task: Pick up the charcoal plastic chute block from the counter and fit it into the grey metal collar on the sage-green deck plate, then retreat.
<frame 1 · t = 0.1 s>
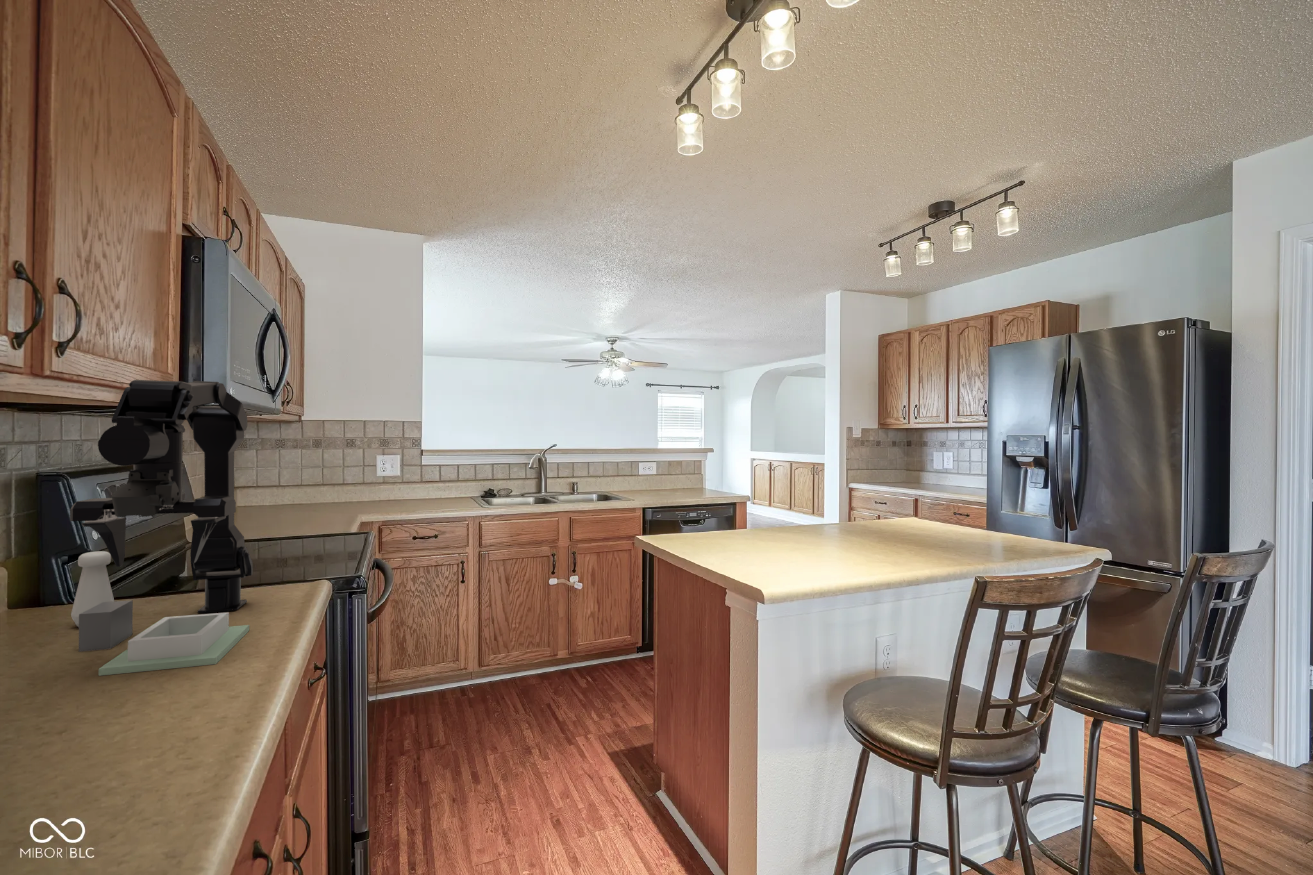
hand: (157, 564, 90), 15 cm above the counter, fingers open, 9 cm apart
deck plate: (181, 650, 93), on the counter
salt shaker: (93, 625, 105), on the counter
chute block: (106, 643, 97), on the counter
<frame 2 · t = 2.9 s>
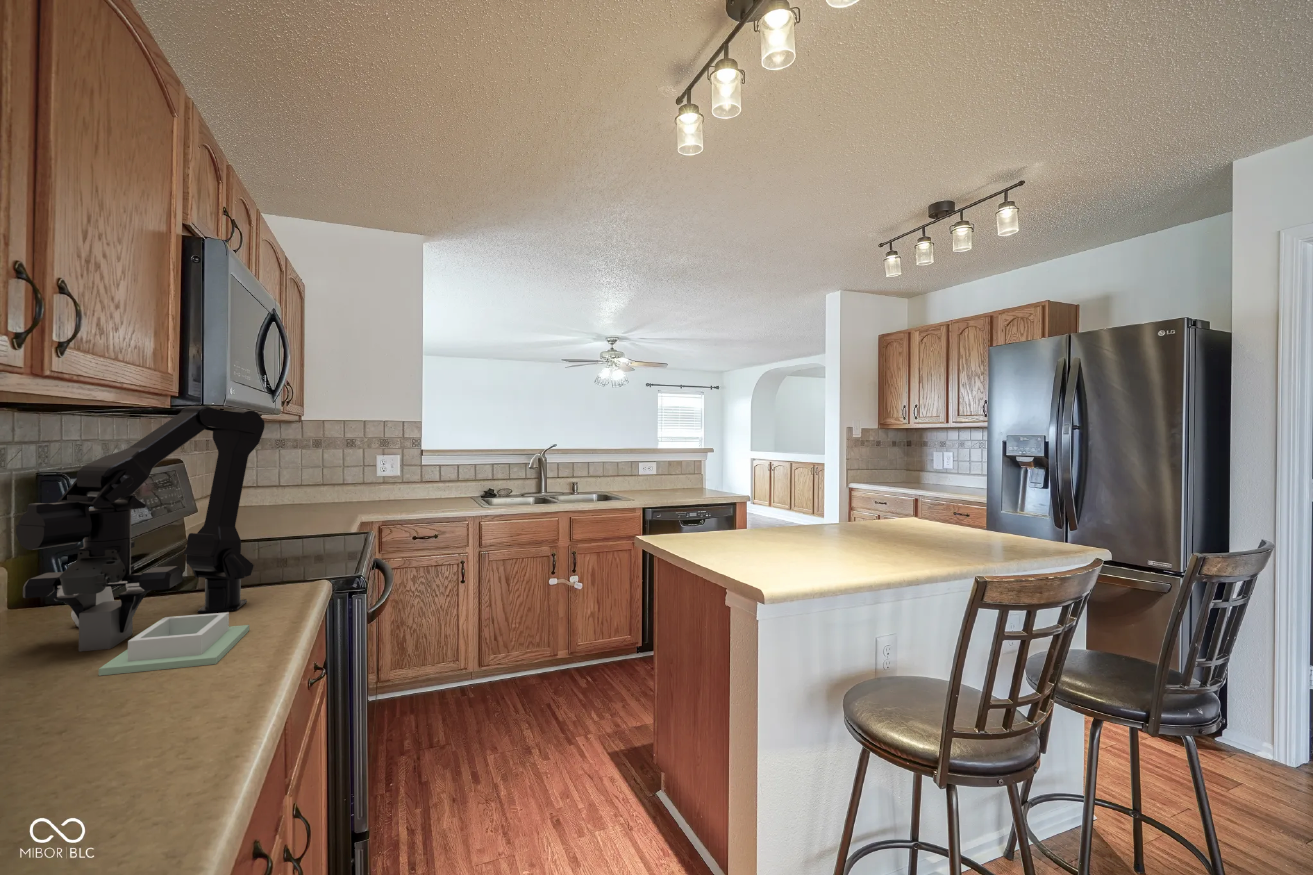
hand: (106, 633, 97), 2 cm above the counter, fingers closed on chute block, 4 cm apart
chute block: (106, 642, 97), on the counter, touching gripper
everything else where it was.
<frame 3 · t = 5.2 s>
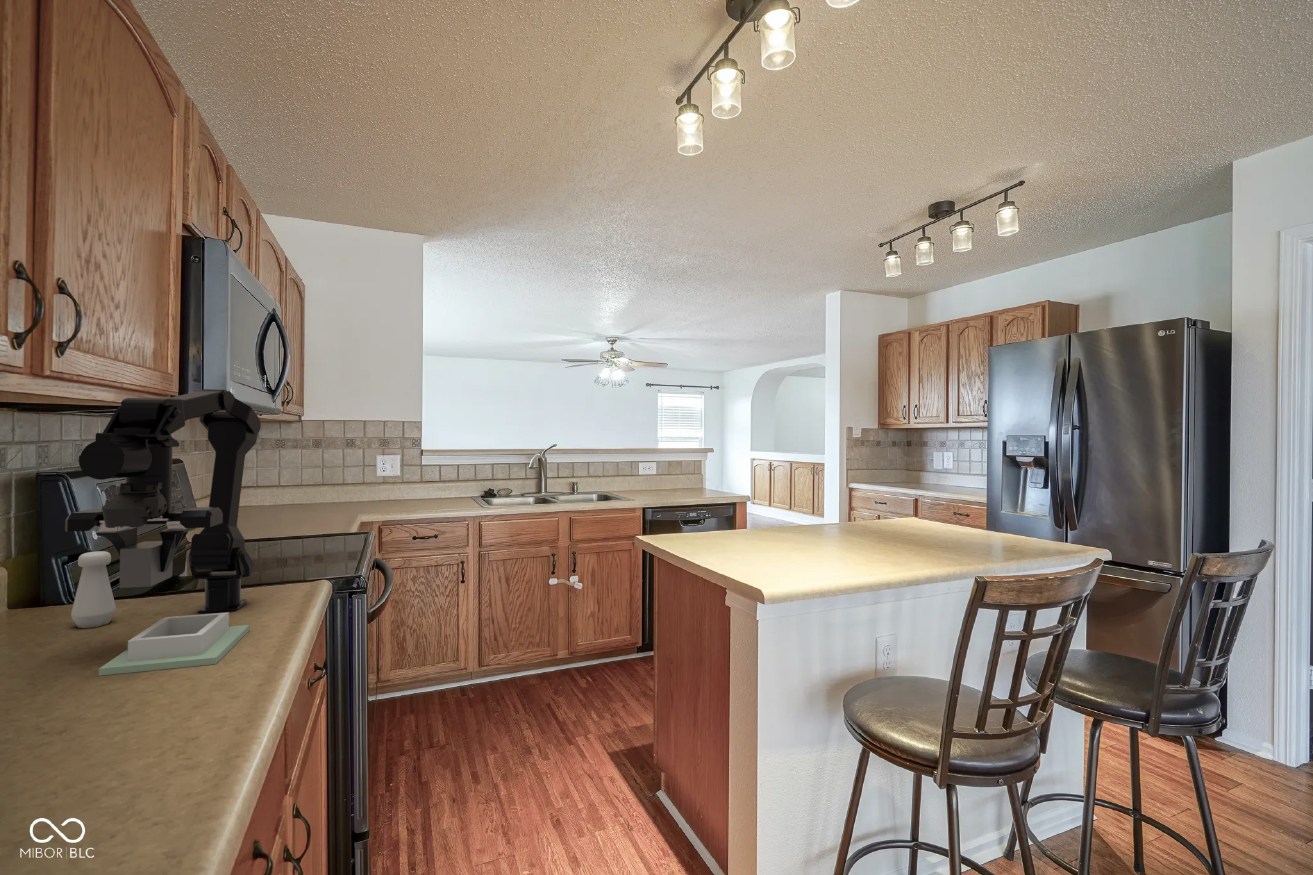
hand: (147, 572, 95), 12 cm above the counter, fingers closed on chute block, 4 cm apart
chute block: (147, 581, 95), point 11 cm above the counter, touching gripper
everything else where it was.
when the fingers open (5 cm above the counter, at t = 7.6 s): chute block drops 2 cm, resting on deck plate.
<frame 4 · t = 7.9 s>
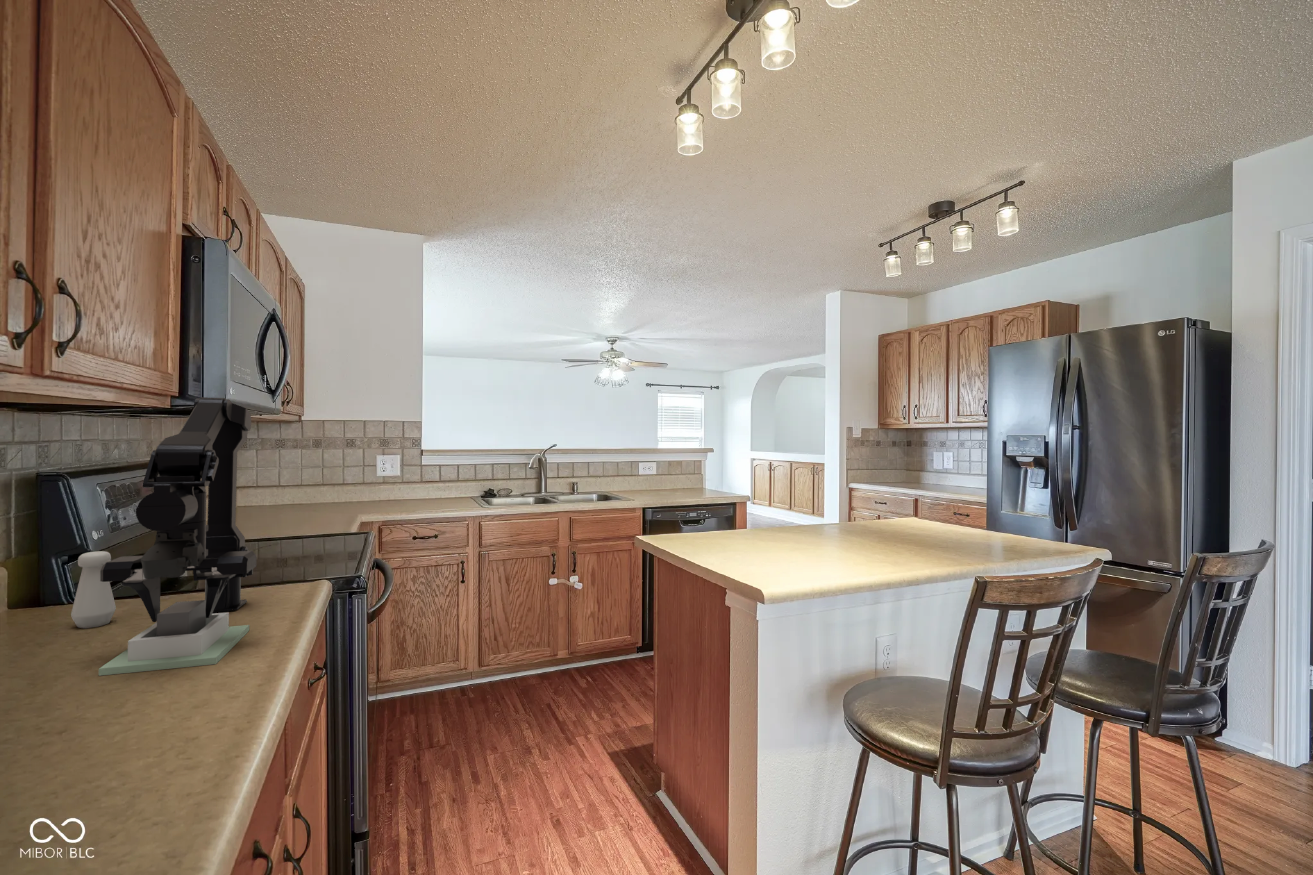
hand: (182, 619, 93), 5 cm above the counter, fingers open, 7 cm apart
chute block: (182, 644, 93), point 1 cm above the counter, touching deck plate
everything else where it was.
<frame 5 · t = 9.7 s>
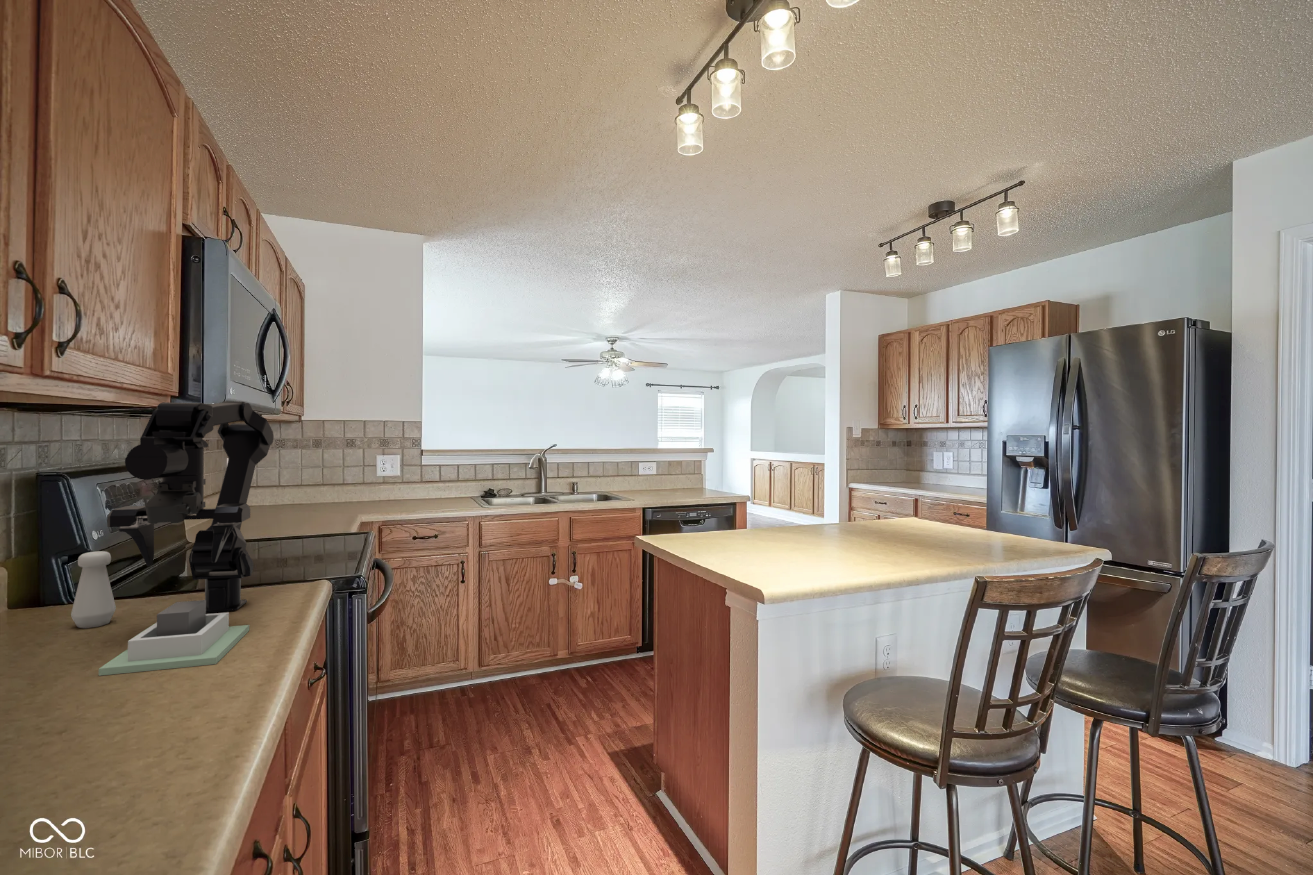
hand: (182, 563, 102), 12 cm above the counter, fingers open, 9 cm apart
nothing on the counter moved.
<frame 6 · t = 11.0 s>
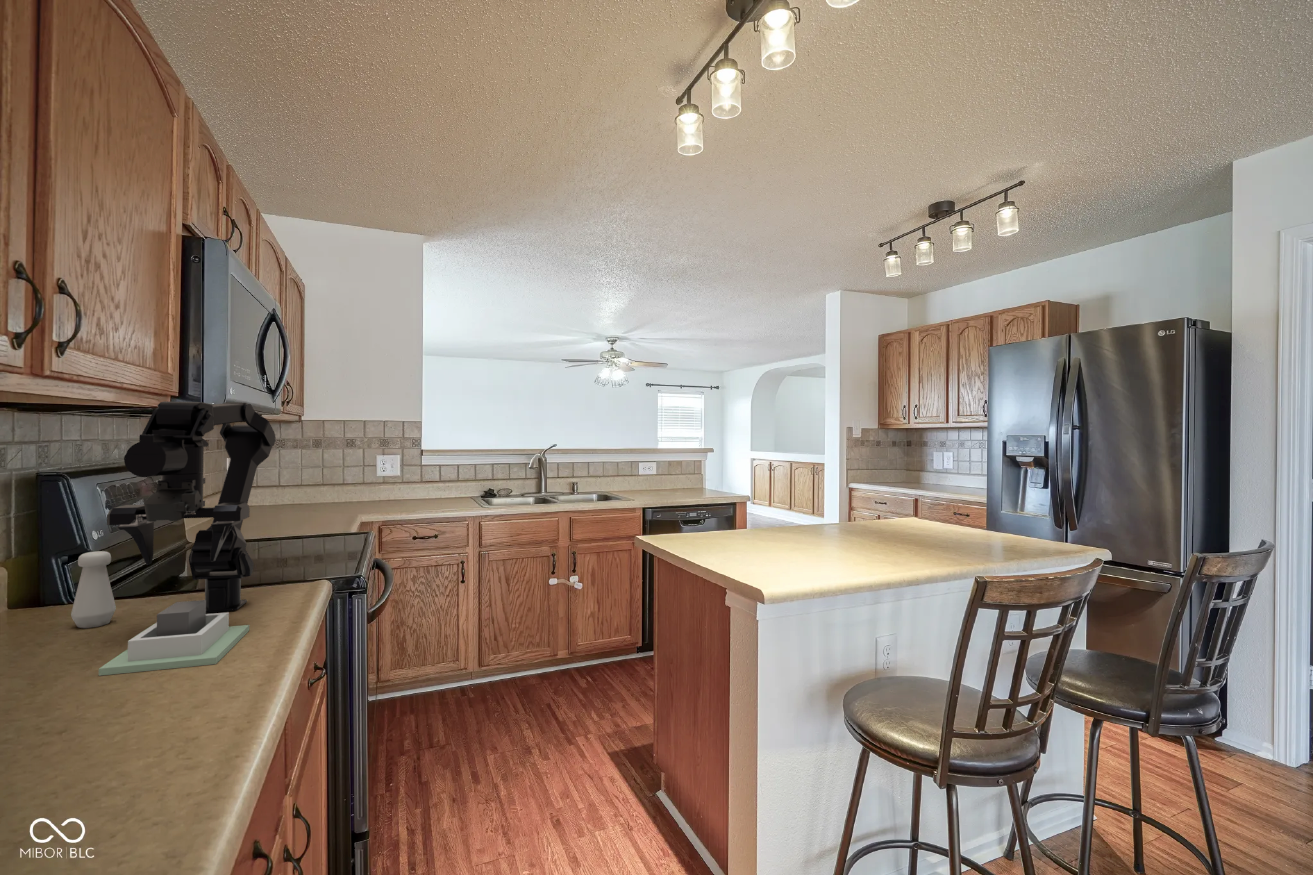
hand: (181, 562, 102), 12 cm above the counter, fingers open, 9 cm apart
nothing on the counter moved.
at the end: chute block 0.0 cm off-centre on the deck plate, point 1.0 cm above the deck plate's base; chute block tilted 0°; the gripper is holding nothing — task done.
